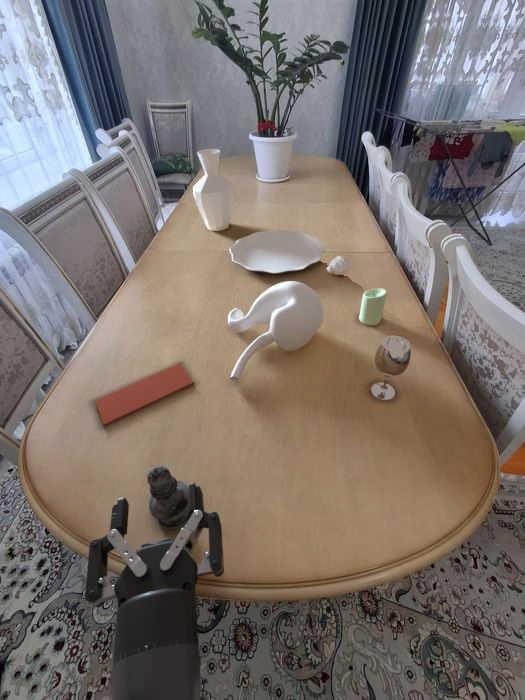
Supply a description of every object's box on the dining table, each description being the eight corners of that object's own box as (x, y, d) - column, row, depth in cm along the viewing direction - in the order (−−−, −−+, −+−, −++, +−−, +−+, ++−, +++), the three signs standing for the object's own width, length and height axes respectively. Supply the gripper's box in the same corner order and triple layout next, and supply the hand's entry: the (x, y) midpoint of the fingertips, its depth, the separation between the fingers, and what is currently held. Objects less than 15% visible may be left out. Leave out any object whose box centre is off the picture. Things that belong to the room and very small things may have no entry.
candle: (355, 321, 84) (360, 291, 79) (364, 311, 87) (369, 282, 81) (375, 328, 82) (381, 298, 76) (383, 317, 85) (390, 288, 79)
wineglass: (397, 406, 64) (413, 358, 56) (365, 398, 66) (376, 351, 58) (399, 384, 68) (414, 337, 60) (369, 377, 70) (380, 330, 62)
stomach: (244, 324, 92) (222, 400, 76) (222, 284, 83) (193, 361, 67) (330, 310, 84) (326, 392, 68) (317, 264, 75) (309, 346, 59)
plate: (311, 285, 97) (312, 277, 95) (215, 272, 105) (214, 265, 103) (331, 240, 117) (331, 233, 116) (249, 232, 125) (249, 226, 124)
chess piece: (157, 494, 54) (135, 451, 46) (195, 489, 54) (180, 445, 46) (152, 534, 49) (127, 494, 41) (194, 528, 50) (176, 488, 42)
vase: (235, 233, 125) (228, 155, 109) (196, 234, 126) (183, 158, 109) (238, 218, 136) (231, 145, 119) (202, 219, 136) (190, 147, 120)
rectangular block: (180, 364, 75) (179, 362, 75) (193, 383, 71) (193, 382, 71) (95, 401, 68) (94, 400, 68) (104, 425, 64) (103, 424, 64)
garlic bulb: (321, 274, 101) (323, 256, 98) (338, 268, 103) (340, 251, 100) (333, 282, 98) (334, 264, 94) (350, 276, 99) (352, 259, 96)
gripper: (230, 631, 30) (211, 464, 42) (56, 679, 28) (87, 491, 40) (238, 646, 35) (218, 494, 47) (90, 688, 33) (109, 518, 45)
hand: (158, 492), depth 44 cm, fingers open, 8 cm apart
